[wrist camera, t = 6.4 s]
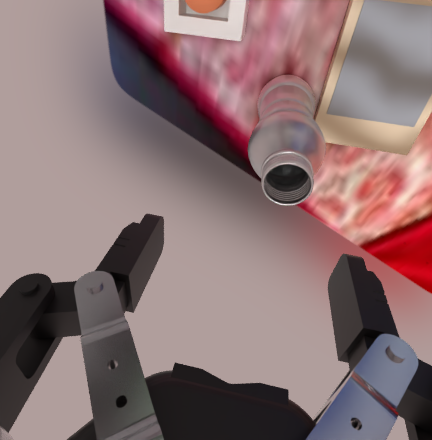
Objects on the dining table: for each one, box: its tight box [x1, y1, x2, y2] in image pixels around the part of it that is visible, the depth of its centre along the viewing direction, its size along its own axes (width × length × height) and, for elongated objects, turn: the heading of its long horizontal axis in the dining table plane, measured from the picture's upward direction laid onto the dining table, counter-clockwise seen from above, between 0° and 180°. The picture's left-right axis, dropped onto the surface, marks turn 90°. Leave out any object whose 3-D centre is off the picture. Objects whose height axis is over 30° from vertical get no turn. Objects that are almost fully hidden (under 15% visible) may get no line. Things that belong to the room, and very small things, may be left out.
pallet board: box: [314, 0, 432, 155], centre depth 32 cm, size 18×12×2 cm, turn 175°
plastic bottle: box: [248, 75, 326, 206], centre depth 29 cm, size 6×7×20 cm
